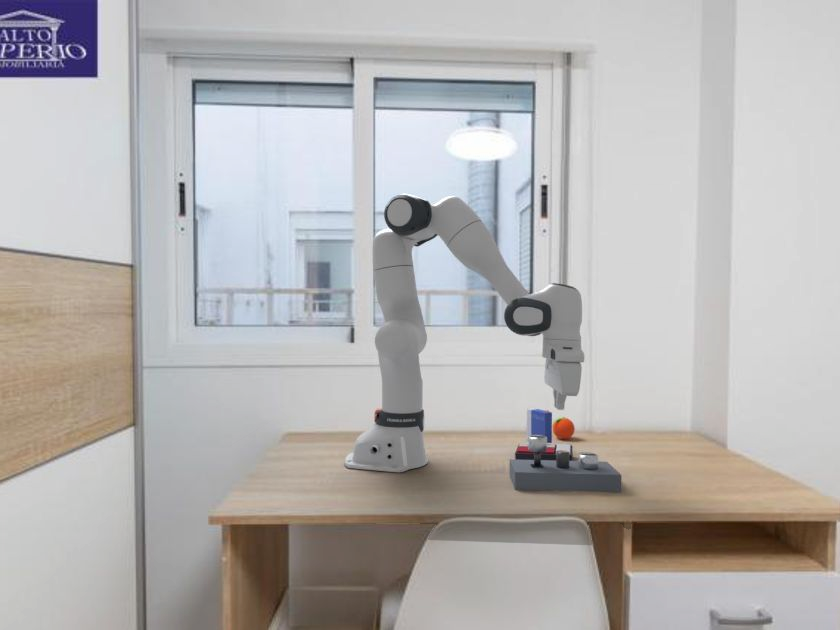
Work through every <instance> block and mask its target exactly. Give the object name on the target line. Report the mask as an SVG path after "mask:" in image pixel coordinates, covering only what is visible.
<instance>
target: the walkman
mask: <svg viewBox="0 0 840 630" xmlns="http://www.w3.org/2000/svg"><path fill="white" fill-rule="evenodd" d="M552 433H553V412H552V411H550V410H549V409H548V410H547V409H544V410H543V409H539V408H534V407H532V408H527V409H526V442H528V436H529V435H543V436H546V437H547V443H553V436H552V435H553V434H552Z"/></svg>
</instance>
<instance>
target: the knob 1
mask: <svg viewBox="0 0 840 630" xmlns="http://www.w3.org/2000/svg"><path fill="white" fill-rule="evenodd" d="M528 449H529V450H530V451H534V466H536V467H540V466H541V452H545V451H547V437H546V436H543V435H529V436H528Z"/></svg>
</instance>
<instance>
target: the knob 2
mask: <svg viewBox="0 0 840 630" xmlns="http://www.w3.org/2000/svg"><path fill="white" fill-rule="evenodd" d="M578 461H579V468H581V469H584V470H597V469H598V461H599V454H597V453H593V452H587V451H585V452H582V451H581V452H579V453H578Z"/></svg>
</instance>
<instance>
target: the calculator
mask: <svg viewBox="0 0 840 630" xmlns="http://www.w3.org/2000/svg"><path fill="white" fill-rule="evenodd" d="M559 450H563V451H569V461H574V455H573V445H572V444H570V443H569V444H568V443H557V444H556V443H555V442H552V443H547V451H545V452H541V460H556V451H559ZM514 457H515V458H514V460H534V451H530V450H529V449H528V442H527V441H520V443H518V445H517V448H516V451H515V453H514Z"/></svg>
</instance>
